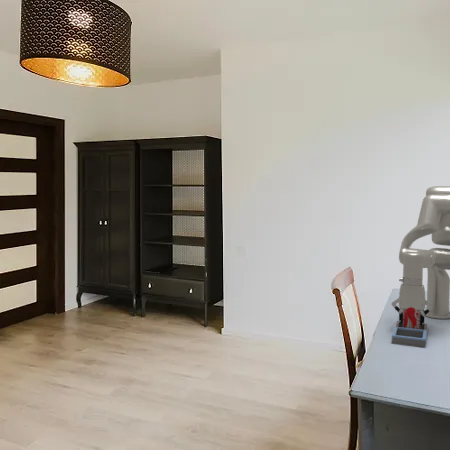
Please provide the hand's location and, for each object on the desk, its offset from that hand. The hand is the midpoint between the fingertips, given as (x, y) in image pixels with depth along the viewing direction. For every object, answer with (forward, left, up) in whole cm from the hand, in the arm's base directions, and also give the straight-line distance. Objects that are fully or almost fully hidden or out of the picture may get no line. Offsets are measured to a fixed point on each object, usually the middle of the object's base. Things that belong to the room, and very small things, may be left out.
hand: (411, 323), depth 199 cm
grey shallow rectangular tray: (+5, +1, -4) cm, 7 cm away
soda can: (0, 0, -4) cm, 4 cm away
